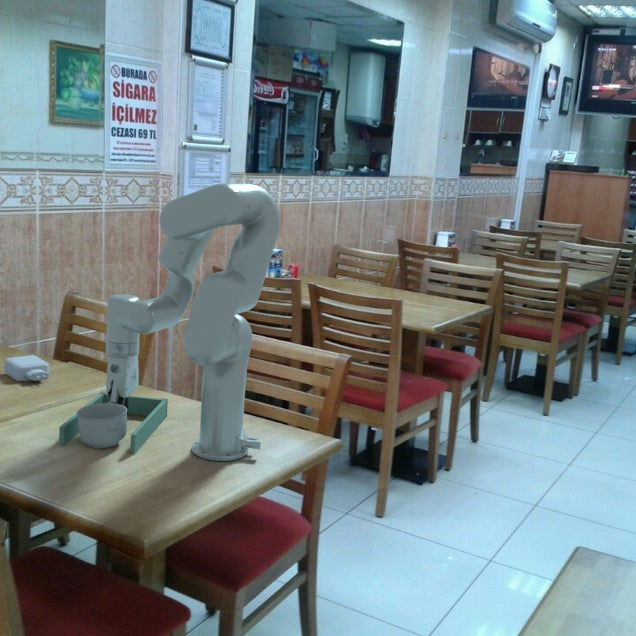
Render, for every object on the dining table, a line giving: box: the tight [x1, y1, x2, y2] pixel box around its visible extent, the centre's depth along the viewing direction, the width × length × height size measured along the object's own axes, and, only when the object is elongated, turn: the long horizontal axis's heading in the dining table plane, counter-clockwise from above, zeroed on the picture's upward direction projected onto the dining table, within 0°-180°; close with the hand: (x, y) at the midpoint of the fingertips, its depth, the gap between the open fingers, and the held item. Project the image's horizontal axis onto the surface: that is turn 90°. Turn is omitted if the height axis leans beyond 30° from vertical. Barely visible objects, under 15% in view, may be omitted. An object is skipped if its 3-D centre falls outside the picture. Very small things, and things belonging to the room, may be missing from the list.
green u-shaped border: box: [58, 392, 169, 455], centre depth 176 cm, size 17×26×4 cm, turn 175°
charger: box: [3, 354, 50, 382], centre depth 209 cm, size 5×9×15 cm
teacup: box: [76, 401, 128, 449], centre depth 169 cm, size 14×11×8 cm
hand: (120, 421), depth 179 cm, fingers closed
